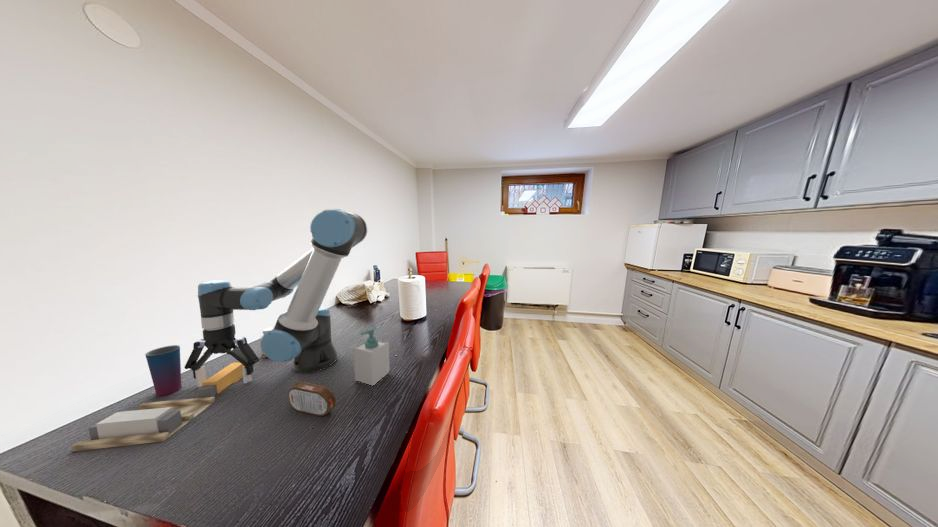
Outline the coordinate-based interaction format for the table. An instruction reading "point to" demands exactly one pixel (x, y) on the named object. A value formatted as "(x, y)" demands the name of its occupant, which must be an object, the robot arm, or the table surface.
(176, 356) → the cup
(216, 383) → the grey-capped orange block
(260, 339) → the pill bottle
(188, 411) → the comb board
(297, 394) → the tin
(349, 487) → the table surface
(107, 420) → the grey-capped white block
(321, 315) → the robot arm
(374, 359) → the soap bottle
